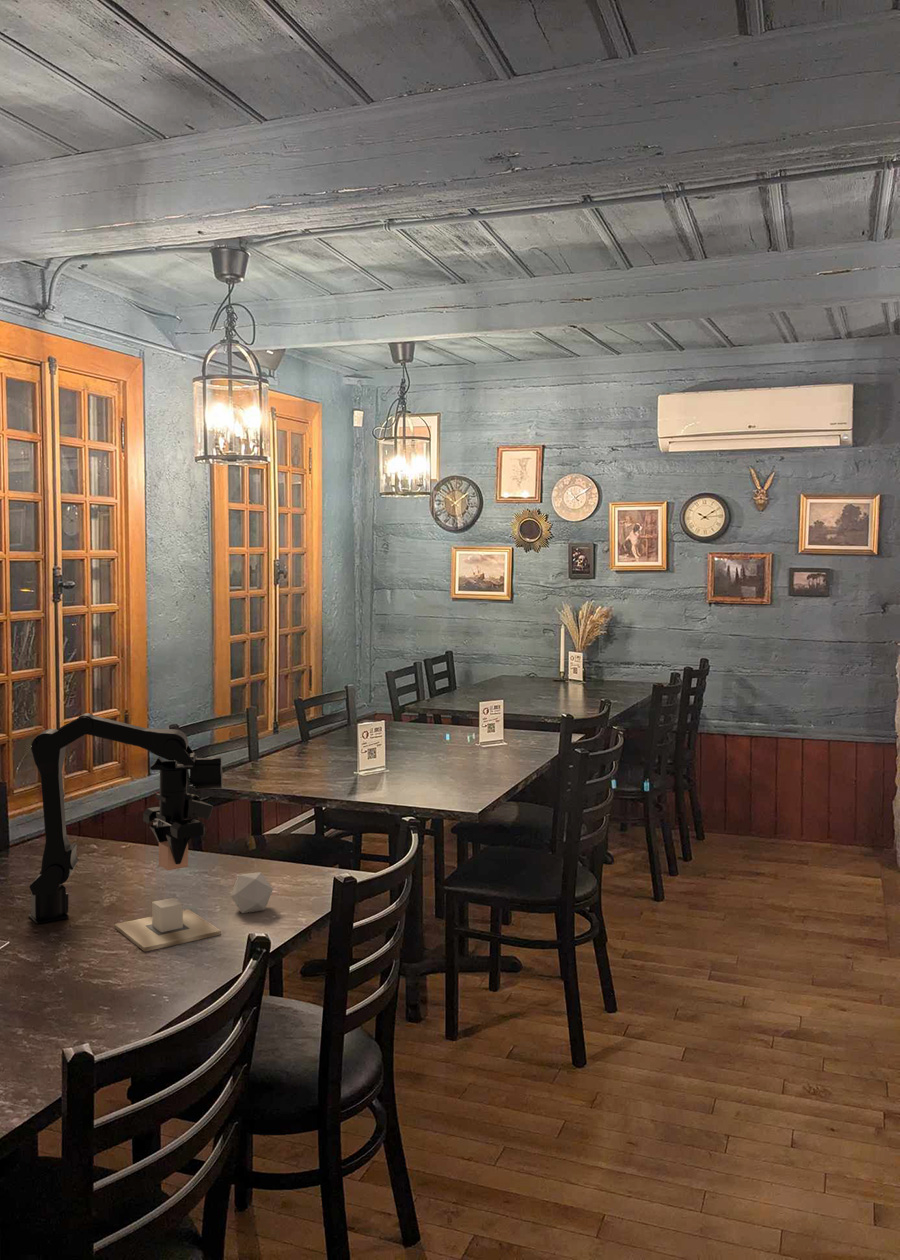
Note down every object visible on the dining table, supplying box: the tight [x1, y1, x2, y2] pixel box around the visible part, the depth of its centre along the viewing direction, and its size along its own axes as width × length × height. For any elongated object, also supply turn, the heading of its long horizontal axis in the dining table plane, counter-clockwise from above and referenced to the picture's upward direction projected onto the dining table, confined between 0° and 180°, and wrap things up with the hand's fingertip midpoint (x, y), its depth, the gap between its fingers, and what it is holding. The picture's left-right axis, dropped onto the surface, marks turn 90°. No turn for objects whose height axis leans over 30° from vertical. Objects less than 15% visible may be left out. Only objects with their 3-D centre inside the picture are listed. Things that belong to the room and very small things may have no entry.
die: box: [229, 871, 274, 914], centre depth 220 cm, size 8×9×10 cm
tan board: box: [114, 908, 222, 952], centre depth 206 cm, size 16×16×1 cm
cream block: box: [151, 897, 184, 932], centre depth 206 cm, size 5×5×5 cm
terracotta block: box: [158, 841, 189, 871], centre depth 217 cm, size 5×5×5 cm
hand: (173, 861), depth 217 cm, fingers closed on terracotta block, 5 cm apart
